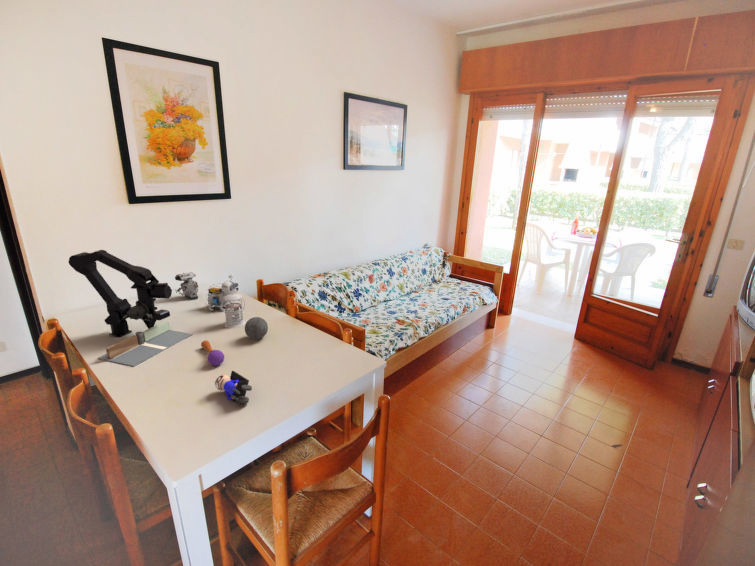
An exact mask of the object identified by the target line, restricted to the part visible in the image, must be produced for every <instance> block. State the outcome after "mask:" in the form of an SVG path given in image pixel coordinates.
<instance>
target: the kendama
mask: <svg viewBox="0 0 755 566" xmlns="http://www.w3.org/2000/svg"><path fill="white" fill-rule="evenodd" d="M200 346H201V348H202V349H204V350H205V351H207V352H208V355H207V362H208V363H209V365H211V366H212V367H213V366H215V367H217V366H220V365H221V364H222V363H223V362H224V360H225V354H224V353H223V351H221V350H219V349H213V348H212V346H211V343H210V341H208V340H205V339H204V340H203V341H201V344H200Z"/></svg>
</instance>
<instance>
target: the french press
mask: <svg viewBox="0 0 755 566" xmlns="http://www.w3.org/2000/svg"><path fill="white" fill-rule="evenodd" d="M228 278H230V281H231V285H232V282H233V280H232V279H233V278H234V275H233V274H229V276H228ZM224 300H226V301H232V303H230V304H227V305H226V306H225V308H224V309H225V311H224V313H225V323H224V327H225V328H229V329H235V328H236V329H237V328H240V327H243V326H245V324H246V323H247V321H245V320H244V315H243V311H244V309H245V305H246V304H245V300H244V298H242V295H241V294H237V293H234V294H233V291H232V294H229V295H227V296H225V297H224ZM235 301H236V302H235ZM237 301H238V302H237ZM240 302H241V303H240Z"/></svg>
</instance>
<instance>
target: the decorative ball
mask: <svg viewBox="0 0 755 566" xmlns="http://www.w3.org/2000/svg"><path fill="white" fill-rule="evenodd" d="M268 331H269V325H268V323H267V321H266V320H265V319H264V318H262V317H260V316H253V317H251V318H249V319H248V320H247V321H246V323H245V324H244V332H245V335H246V336H247V337H248V338H249V339H251V340H261V339H262V338H264V337H265V336H266V335H267V333H268Z"/></svg>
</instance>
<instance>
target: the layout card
mask: <svg viewBox="0 0 755 566" xmlns="http://www.w3.org/2000/svg"><path fill="white" fill-rule="evenodd" d="M191 336H193V333H189V332H183V331H178V330H172V329H170V330H168V331H166V332H164V333H162V334H160V335H158V336H156V337H154V338H152V339H150V340H148V341H144V344H142V345H139V346H137V347H135V348H133V349H131V350H129V351H127V352H125V353H123V354H121V355H119V356H116V357H114V358H113V359H108V357H107V353H105V354H103V355H101V356H98V357H97V359H98V360H102V361H106V362H110V363H115V364H118V365H125V366H130V367H133V368H134V367H136V366H138V365H140V364H142V363H143V362H146V361H147V360H149V359H151V358H153V357H154V356H157V355H158V354H160V353H162V352H163V351H165V350H167V349H170V348H171V347H172V346H175V345H177V344H178V343H180V342H182V341H183V340H185V339H188V338H189V337H191Z"/></svg>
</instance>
